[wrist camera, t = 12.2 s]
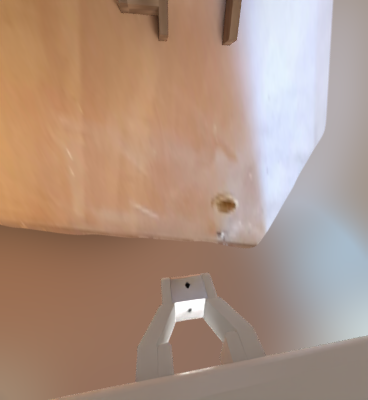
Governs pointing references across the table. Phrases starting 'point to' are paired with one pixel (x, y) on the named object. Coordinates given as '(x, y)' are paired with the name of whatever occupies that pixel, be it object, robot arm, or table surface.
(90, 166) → the table surface
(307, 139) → the table surface
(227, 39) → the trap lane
